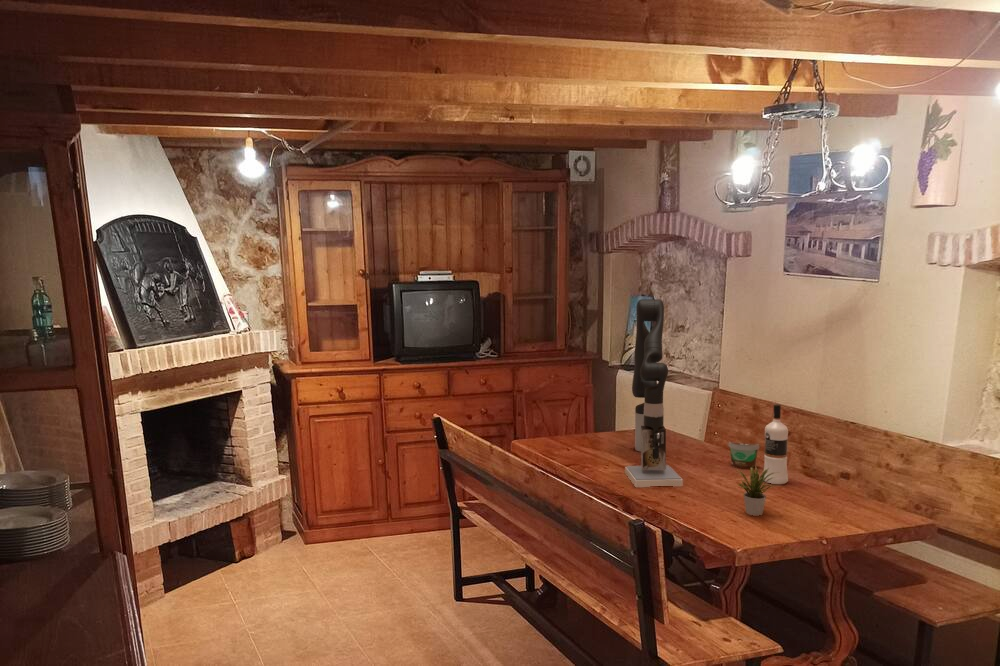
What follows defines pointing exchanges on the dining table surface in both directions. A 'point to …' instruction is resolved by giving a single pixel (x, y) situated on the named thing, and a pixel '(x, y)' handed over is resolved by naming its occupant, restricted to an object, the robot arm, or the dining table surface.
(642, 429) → the coffee box
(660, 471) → the podium
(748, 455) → the food container
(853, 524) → the dining table surface
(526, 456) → the dining table surface
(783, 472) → the vodka
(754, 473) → the house plant
